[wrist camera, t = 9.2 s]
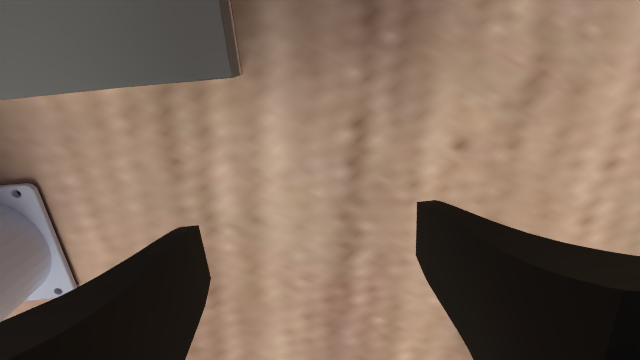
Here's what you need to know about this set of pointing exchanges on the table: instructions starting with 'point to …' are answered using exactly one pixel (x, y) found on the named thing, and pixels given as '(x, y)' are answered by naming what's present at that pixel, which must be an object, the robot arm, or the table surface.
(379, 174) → the table surface
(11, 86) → the grill press
